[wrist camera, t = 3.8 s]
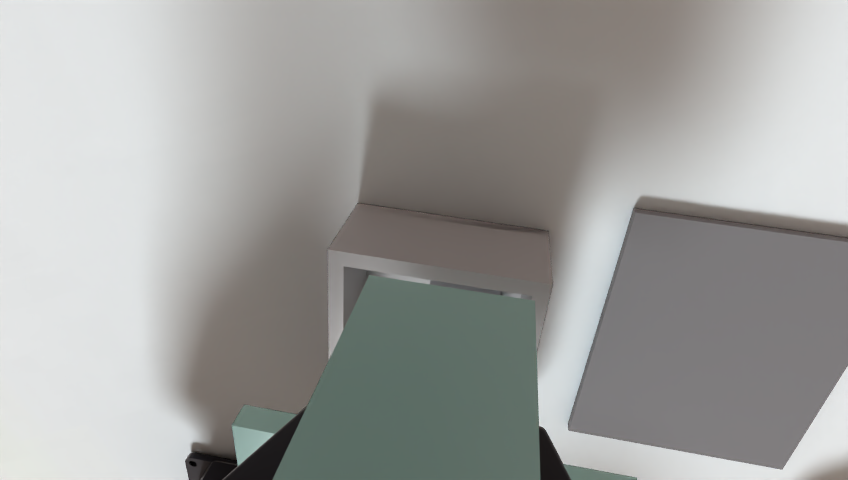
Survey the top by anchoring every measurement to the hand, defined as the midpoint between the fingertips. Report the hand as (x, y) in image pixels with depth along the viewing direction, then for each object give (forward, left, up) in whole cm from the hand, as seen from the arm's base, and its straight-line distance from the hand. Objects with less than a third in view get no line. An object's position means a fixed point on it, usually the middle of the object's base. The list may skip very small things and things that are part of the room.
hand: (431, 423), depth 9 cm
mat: (-7, -11, -13) cm, 19 cm away
